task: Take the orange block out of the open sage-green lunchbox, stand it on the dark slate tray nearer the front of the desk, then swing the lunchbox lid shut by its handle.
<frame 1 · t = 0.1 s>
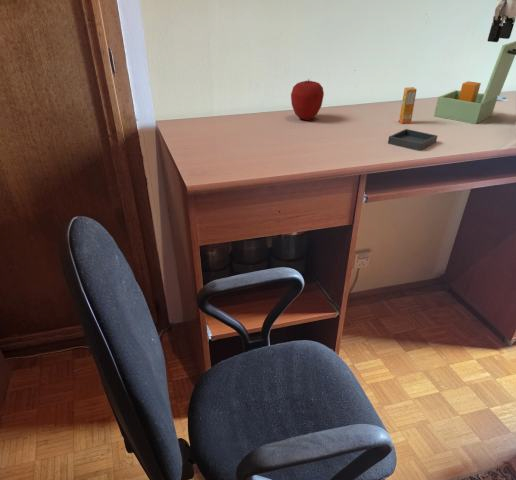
hand: (498, 40, 140), 22 cm above the table, tool pointing down, fingers open, 9 cm apart
supplement box: (404, 123, 148), on the table
orange block: (463, 113, 153), point 1 cm above the table, touching lunchbox
apple: (305, 119, 151), on the table
lunchbox: (462, 115, 154), on the table
lunchbox lid: (508, 73, 140), point 14 cm above the table, hinge at 95.0°
tray: (411, 142, 131), on the table
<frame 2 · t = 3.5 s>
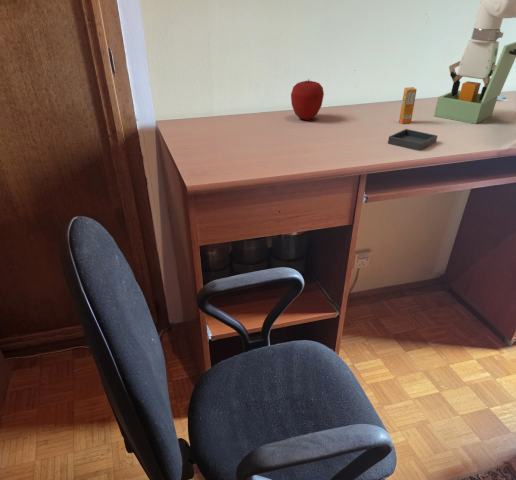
hand: (467, 97, 150), 6 cm above the table, tool pointing down, fingers open, 9 cm apart
lunchbox lid: (509, 74, 140), point 14 cm above the table, hinge at 97.0°
everything else where it was.
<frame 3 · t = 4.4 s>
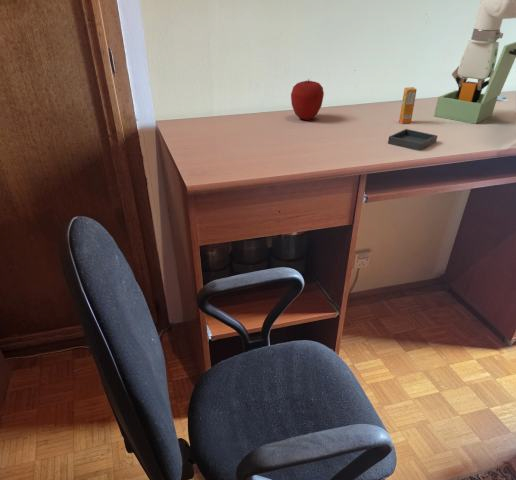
hand: (466, 100, 151), 5 cm above the table, tool pointing down, fingers closed on orange block, 4 cm apart
orange block: (463, 113, 153), point 1 cm above the table, touching gripper, lunchbox
everything else where it was.
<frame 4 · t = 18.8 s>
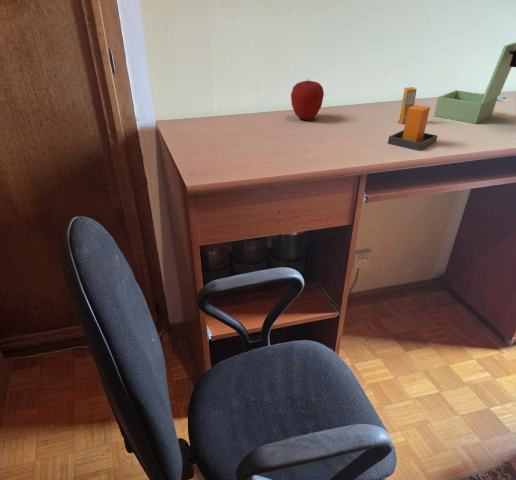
orange block: (412, 141, 131), resting on tray
lunchbox lid: (509, 74, 140), point 14 cm above the table, hinge at 97.0°, touching gripper
everything else where it was.
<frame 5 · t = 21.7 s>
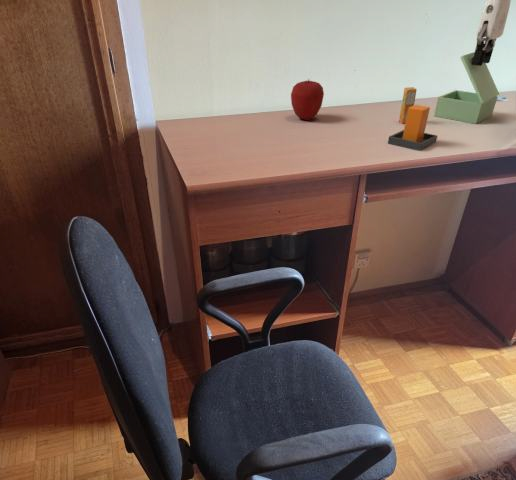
hand: (480, 63, 143), 16 cm above the table, tool pointing down, fingers closed on lunchbox lid, 5 cm apart
lunchbox lid: (487, 71, 143), point 14 cm above the table, hinge at 48.2°, touching gripper
everything else where it was.
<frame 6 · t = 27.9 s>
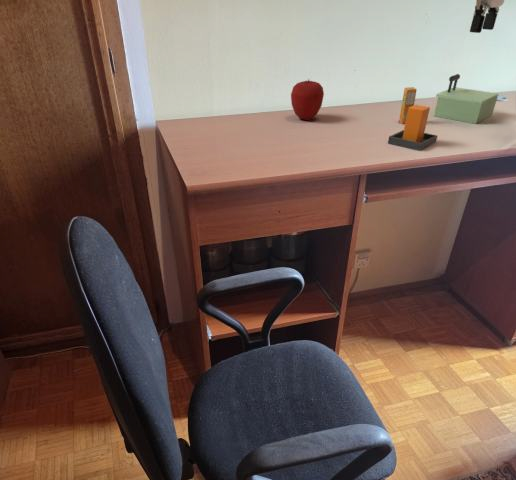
hand: (481, 30, 136), 24 cm above the table, tool pointing down, fingers open, 9 cm apart
lunchbox lid: (469, 87, 148), point 9 cm above the table, hinge at -0.2°, touching lunchbox
everything else where it was.
at the end: orange block inside the target area in the tray (0.1 cm from its centre), point 0.4 cm above the tray's base; lunchbox lid at +0° (first picture: +95°) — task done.
